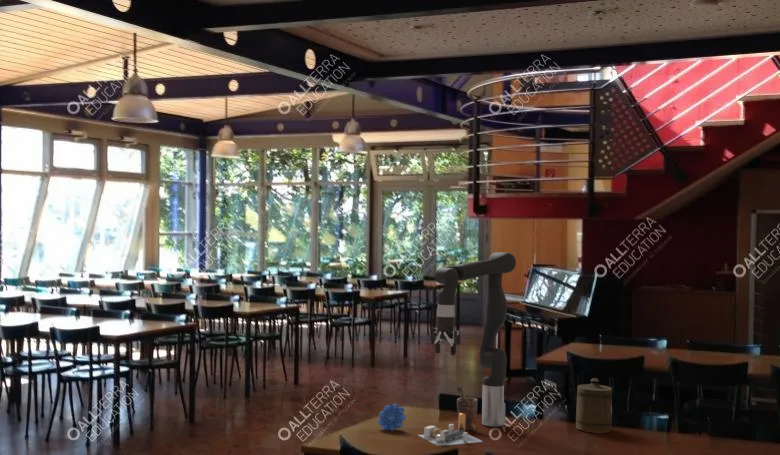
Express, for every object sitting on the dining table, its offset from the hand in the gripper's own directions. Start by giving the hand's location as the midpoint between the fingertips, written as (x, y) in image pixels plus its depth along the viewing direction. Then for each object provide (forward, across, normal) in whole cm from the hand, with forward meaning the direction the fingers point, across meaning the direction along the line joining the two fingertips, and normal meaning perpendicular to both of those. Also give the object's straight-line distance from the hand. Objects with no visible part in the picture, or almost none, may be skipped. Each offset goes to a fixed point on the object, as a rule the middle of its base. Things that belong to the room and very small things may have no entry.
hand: (445, 354), depth 331 cm
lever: (+30, -14, +12) cm, 36 cm away
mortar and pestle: (+32, -6, -7) cm, 34 cm away
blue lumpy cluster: (+32, +13, +18) cm, 39 cm away
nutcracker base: (+32, -13, +11) cm, 36 cm away
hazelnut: (+31, -10, +15) cm, 36 cm away
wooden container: (+32, -38, -53) cm, 73 cm away
